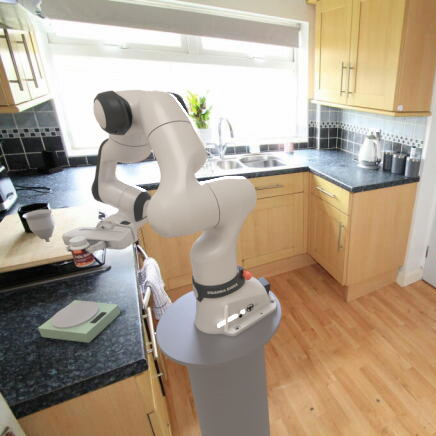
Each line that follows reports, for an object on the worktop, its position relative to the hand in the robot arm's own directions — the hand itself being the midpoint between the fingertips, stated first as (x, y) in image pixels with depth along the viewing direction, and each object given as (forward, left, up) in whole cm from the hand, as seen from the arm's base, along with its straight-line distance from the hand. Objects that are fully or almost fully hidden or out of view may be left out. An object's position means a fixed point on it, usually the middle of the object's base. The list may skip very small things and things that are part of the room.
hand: (78, 250), depth 94 cm
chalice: (+8, -25, -13) cm, 29 cm away
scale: (+3, +19, -13) cm, 23 cm away
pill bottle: (-1, -1, -5) cm, 5 cm away
